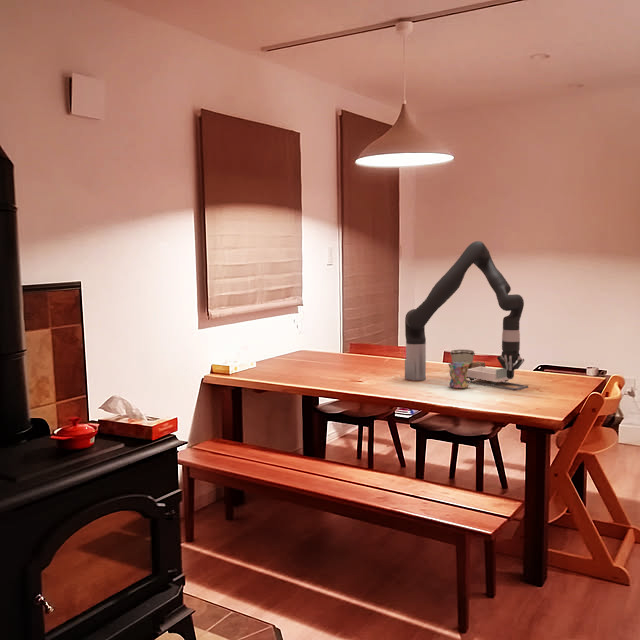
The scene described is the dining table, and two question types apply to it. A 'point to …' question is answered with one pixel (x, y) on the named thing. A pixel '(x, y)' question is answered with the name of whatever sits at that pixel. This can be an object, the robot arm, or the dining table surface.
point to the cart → (488, 374)
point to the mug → (458, 374)
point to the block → (478, 364)
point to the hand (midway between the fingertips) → (510, 378)
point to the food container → (463, 356)
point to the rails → (501, 386)
